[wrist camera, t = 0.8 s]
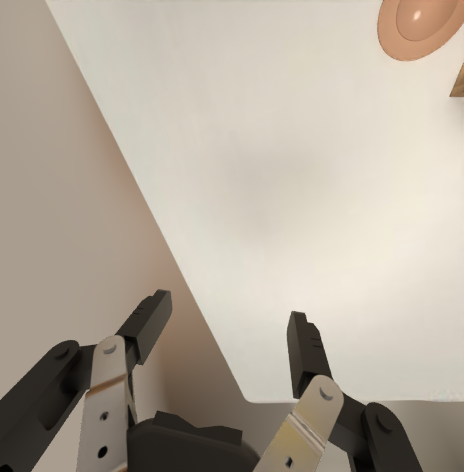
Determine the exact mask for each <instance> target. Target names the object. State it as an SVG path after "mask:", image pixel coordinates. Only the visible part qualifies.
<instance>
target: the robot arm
mask: <svg viewBox="0 0 464 472" xmlns="http://www.w3.org/2000/svg"><path fill="white" fill-rule="evenodd" d="M171 313H172V301H171V292H170V291H166V290H161V289H158V290H157V291H156V293H155V294H154V295H153V296H148V297H147V298H145V299H144V300H143V301H141V303H140V304H139V305H138V306H137V308H136V309H135V310H134V311H133V313H132V314H131V315H130V316H129V318H128V319H127V320H126V321H125V323H124V324H123V325H122V326H121V328H120V329H119V330H118V332H117V333H116V334H115V335H114V336H110V337H107V338H105V339H104V340H102V341H101V342H100V343H99V344H96V345H89V346H81V347H80V346H79V344H78V342H77V341H75V340H68V341H64V342H61V343H59V344H57V345H56V346H54V347H53V348H52V349H51V350H49V351H48V352H47V353H46V355H44V356H43V357H42V359H41V360H40V361H39V362H38V363H37V364H35V366H34V367H33V368H32V369H31V370H30V371H29V372H28V373H27V374H26V375H25V376H24V377H23V378H22V379H21V380H20V381H19V382H18V383H17V384H16V385H15V386H14V387H13V388H12V389H11V390H10V391H9V392H8V393H7V394H6V395H5V396H4V397H3V398H2V399H1V400H0V472H31V471H32V469H33V468H34V466H35V465H36V463H37V462H38V461H39V459H40V457H41V456H42V455H43V453H44V452H45V450H46V449H47V447H48V446H49V444H50V443H51V441H52V440H53V438H54V437H55V435H56V434H57V433H58V431H59V430H60V428H61V427H62V425H63V424H64V422H65V421H66V419H67V418H68V416H69V415H70V413H71V412H72V410H73V409H74V407H75V406H76V405H77V403H78V401H79V400H80V399H81V397H82V396H83V394H84V393H85V391H86V390H87V389H90V391H88V392H87V393H86V395H85V400H84V408H83V417H82V425H81V434H80V442H79V451H78V460H77V468H76V472H315V471H316V469H317V466H318V464H319V462H320V459H321V457H322V455H323V452H324V449H325V445H326V443H327V440H328V441H330V442H331V443H332V444H334V445H336V446H337V447H339V448H340V449H342V450H344V451H345V452H347V455H348V459H349V463H350V468H351V472H423V471H422V468H421V466H420V464H419V462H418V459H417V457H416V455H415V453H414V450H413V448H412V446H411V444H410V441H409V439H408V437H407V434H406V432H405V430H404V428H403V426H402V424H401V422H400V421H399V419H398V418H397V417H396V416H395V414H393V412H391V411H390V410H389V409H388V408H387V407H385V406H383V405H381V404H379V403H375V402H371V403H369V404H367V406H366V405H364V404H362V403H360V402H358V401H356V400H354V399H353V398H351V397H349V396H347V395H346V394H345V393H343V392H342V391H341V389H340V387H339V386H338V385H337V384H336V383H335V382H334V380H333V378H332V375H331V371H330V368H329V364H328V361H327V357H326V354H325V350H324V347H323V343H322V341H321V336H320V333H319V330H318V329H317V328H316V326H315V325H314V323H308V322H307V319H306V315H305V313H302V312H296V311H292V312H291V316H290V320H289V323H288V327H287V344H288V353H289V362H290V371H291V380H292V389H293V398H296V399H300V400H299V402H298V403H297V405H296V407H295V408H294V410H293V411H292V412H291V413H290V414H289V415H288V417H287V418H286V419H285V421H284V423H283V424H282V426H281V428H280V429H279V431H278V432H277V434H276V435H275V437H274V438H273V440H272V442H271V443H270V445H269V446H268V448H267V450H266V451H265V453H264V454H263V456H262V458H261V457H260V456H259V454H258V453H257V451H256V450H255V449H254V448H253V447H252V446H251V445H250V444H249V443H248V442H247V441H245V440H244V439H242V431H241V430H237V429H232V428H229V427H224V426H213V427H204V428H196V427H194V426H193V425H191V424H190V423H188V422H187V421H185V420H184V419H182V418H180V417H179V416H177V415H174V414H169V413H165V412H161V411H157V413H156V415H155V417H154V418H150V419H147V420H144V421H142V422H140V423H138V421H137V414H136V407H135V395H134V382H133V371H132V370H133V369H134V367H135V365H136V364H139V365H143V364H144V362H145V361H146V359H147V357H148V355H149V354H150V352H151V350H152V348H153V346H154V345H155V343H156V341H157V339H158V337H159V335H160V334H161V332H162V330H163V329H164V327H165V325H166V323H167V321H168V319H169V318H170V316H171Z"/></svg>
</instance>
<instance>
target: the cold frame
mask: <svg viewBox="0 0 464 472" xmlns="http://www.w3.org/2000/svg"><path fill="white" fill-rule="evenodd" d="M450 97H464V63H463V66H462V68H461V71H460V73H459V75H458V78H457V80H456V83H455V85H454V87H453V90H452V92H451V95H450Z"/></svg>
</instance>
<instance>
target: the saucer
mask: <svg viewBox="0 0 464 472" xmlns="http://www.w3.org/2000/svg"><path fill="white" fill-rule="evenodd" d="M463 22H464V0H383V3H382V6H381V9H380V12H379V17H378V38H379V41H380V44H381V46H382V48H383V50H384V51H385V52H386V53H387V54H388V55H389V56H391V57H392V58H394V59H396V60H401V61H411V60H416V59H419V58H422V57H424V56H426V55H428V54H430V53H432V52H434V51H435V50H437V49H438V48H440V47H441V46H442V45H444V44H445V43H446V42H447V41H448V40H449V39H450V38H451V37H452V36H453V35H454V34H455V33H456V32H457V31H458V29H459V28H460V27H461V25H462V24H463Z"/></svg>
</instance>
